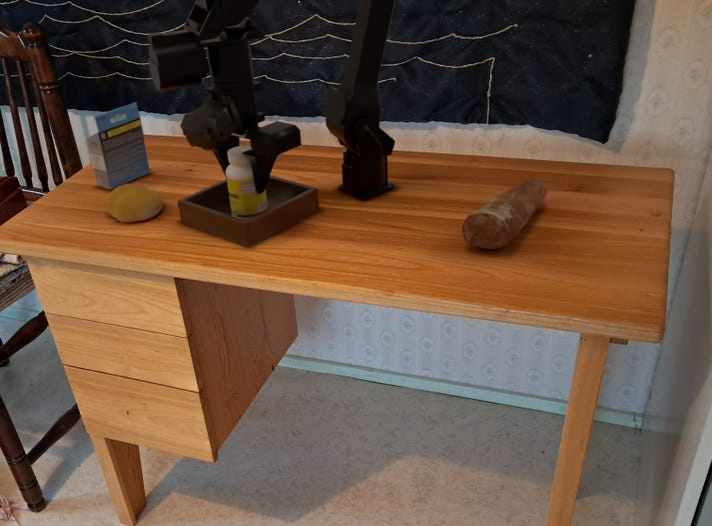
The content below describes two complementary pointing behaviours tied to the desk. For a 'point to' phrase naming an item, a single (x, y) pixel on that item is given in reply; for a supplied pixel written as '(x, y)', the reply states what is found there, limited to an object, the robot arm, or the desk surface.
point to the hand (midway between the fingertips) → (246, 188)
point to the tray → (283, 211)
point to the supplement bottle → (243, 186)
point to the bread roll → (133, 203)
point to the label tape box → (118, 148)
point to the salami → (503, 216)
